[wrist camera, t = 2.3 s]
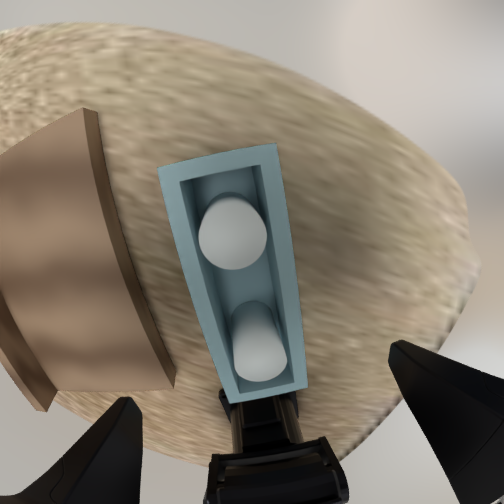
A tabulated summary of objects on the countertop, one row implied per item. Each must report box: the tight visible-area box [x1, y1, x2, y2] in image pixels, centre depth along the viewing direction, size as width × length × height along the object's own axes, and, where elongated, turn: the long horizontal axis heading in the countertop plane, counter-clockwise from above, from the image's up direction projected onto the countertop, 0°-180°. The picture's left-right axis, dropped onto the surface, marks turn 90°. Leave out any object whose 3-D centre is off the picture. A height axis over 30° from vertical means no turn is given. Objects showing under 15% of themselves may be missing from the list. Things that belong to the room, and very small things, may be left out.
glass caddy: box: [157, 143, 308, 403], centre depth 15 cm, size 14×5×6 cm, turn 10°
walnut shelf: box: [0, 107, 176, 412], centre depth 14 cm, size 20×14×5 cm
